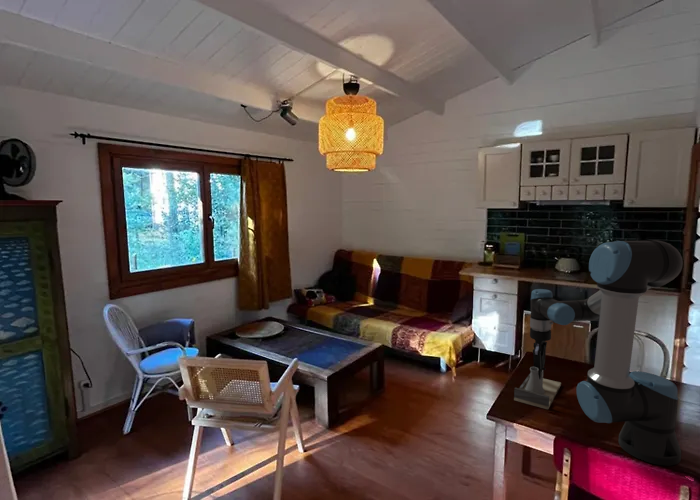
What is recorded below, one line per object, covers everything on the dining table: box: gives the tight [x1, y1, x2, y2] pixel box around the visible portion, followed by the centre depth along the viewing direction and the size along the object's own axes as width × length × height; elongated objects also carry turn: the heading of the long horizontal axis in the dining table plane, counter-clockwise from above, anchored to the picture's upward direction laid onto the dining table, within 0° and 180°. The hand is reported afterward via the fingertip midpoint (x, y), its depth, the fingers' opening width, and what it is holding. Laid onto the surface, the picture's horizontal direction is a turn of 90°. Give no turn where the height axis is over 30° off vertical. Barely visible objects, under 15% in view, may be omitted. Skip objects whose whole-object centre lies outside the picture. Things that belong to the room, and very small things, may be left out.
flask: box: [525, 366, 545, 395], centre depth 153 cm, size 7×7×10 cm
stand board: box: [513, 372, 562, 410], centre depth 157 cm, size 24×12×5 cm, turn 142°
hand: (538, 385), depth 157 cm, fingers closed
